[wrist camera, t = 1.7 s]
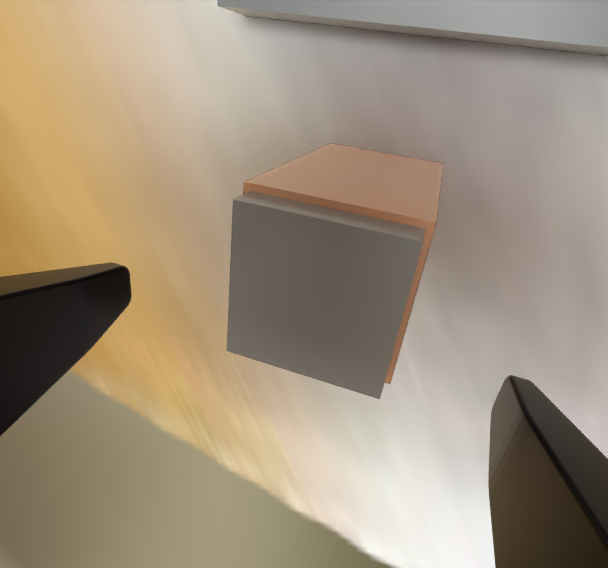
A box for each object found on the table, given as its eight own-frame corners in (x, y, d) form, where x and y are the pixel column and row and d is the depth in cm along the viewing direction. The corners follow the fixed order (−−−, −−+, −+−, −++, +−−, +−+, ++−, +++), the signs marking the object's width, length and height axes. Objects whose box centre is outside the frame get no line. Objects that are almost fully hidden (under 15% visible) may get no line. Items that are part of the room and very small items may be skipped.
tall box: (443, 163, 17) (435, 235, 9) (414, 268, 20) (385, 407, 11) (330, 143, 18) (226, 189, 10) (315, 245, 21) (220, 354, 12)
